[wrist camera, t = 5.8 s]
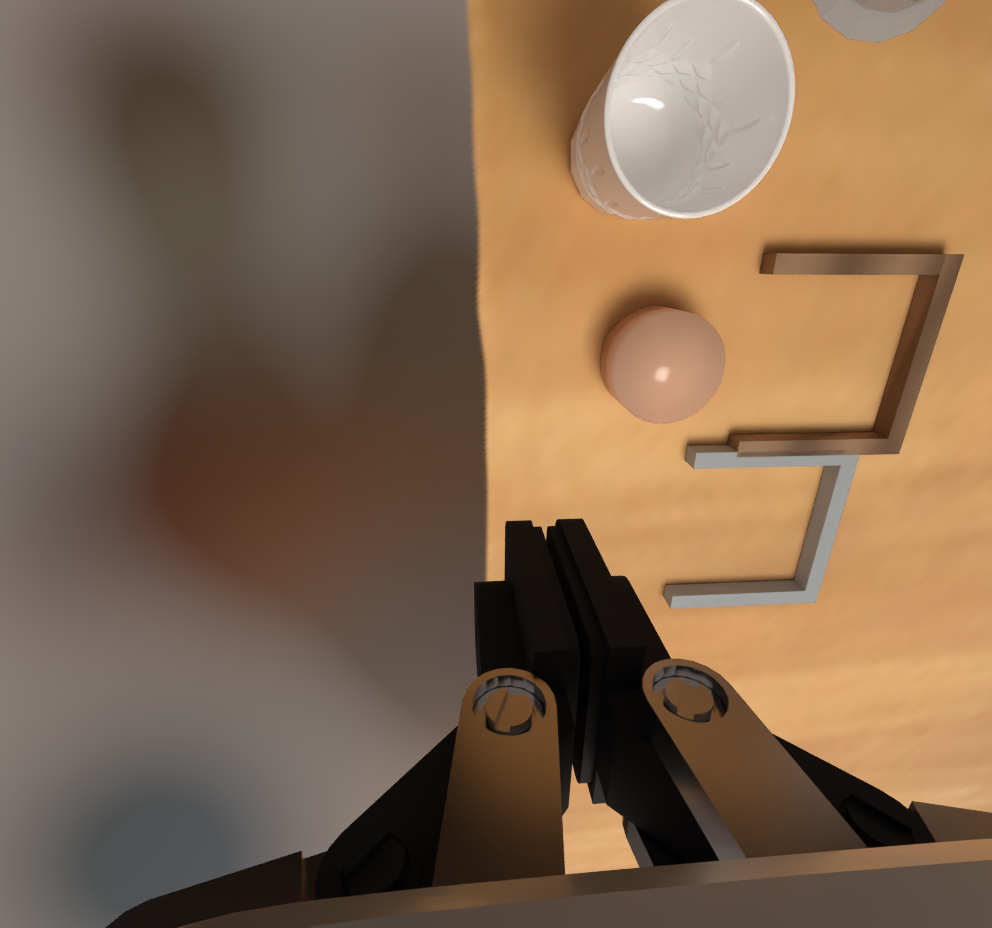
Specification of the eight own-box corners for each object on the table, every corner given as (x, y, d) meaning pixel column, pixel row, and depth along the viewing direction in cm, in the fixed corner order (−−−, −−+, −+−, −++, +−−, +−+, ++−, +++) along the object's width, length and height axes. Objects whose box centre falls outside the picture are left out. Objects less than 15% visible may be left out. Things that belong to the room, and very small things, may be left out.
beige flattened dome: (708, 305, 34) (734, 311, 30) (692, 407, 36) (715, 422, 33) (604, 305, 33) (619, 311, 30) (595, 409, 36) (609, 424, 33)
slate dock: (846, 442, 38) (861, 449, 37) (804, 591, 43) (815, 602, 42) (687, 445, 37) (696, 453, 36) (663, 597, 42) (670, 608, 41)
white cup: (719, 137, 30) (835, 86, 21) (631, 255, 32) (701, 256, 23) (618, 37, 28) (698, -70, 19) (531, 171, 30) (565, 134, 21)
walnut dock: (943, 254, 33) (964, 254, 32) (883, 446, 38) (898, 454, 37) (763, 253, 33) (776, 253, 31) (726, 449, 38) (736, 457, 36)
